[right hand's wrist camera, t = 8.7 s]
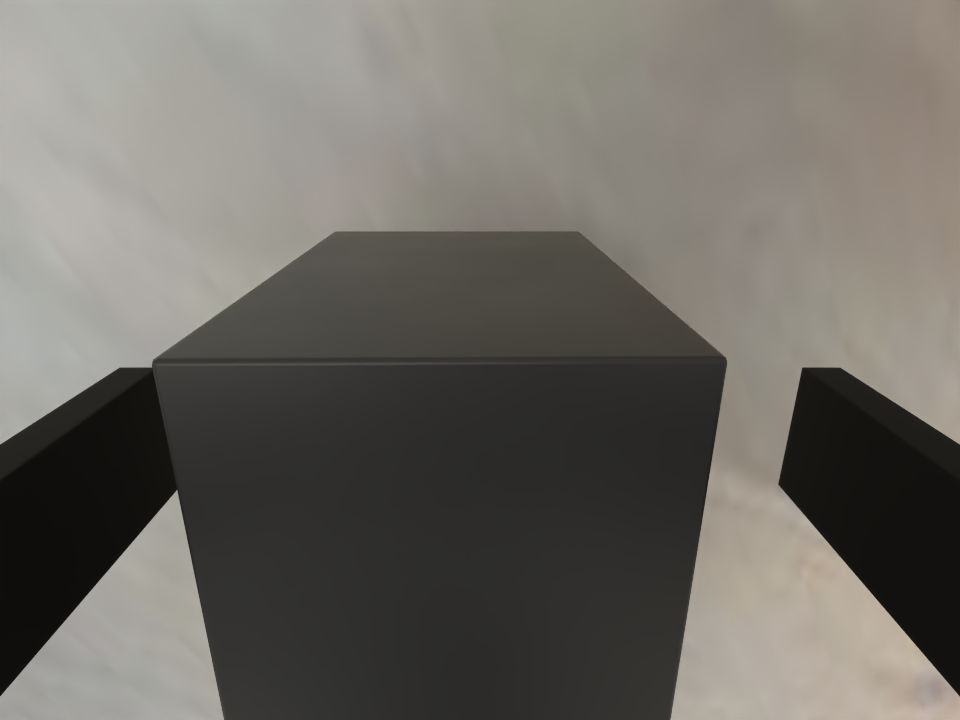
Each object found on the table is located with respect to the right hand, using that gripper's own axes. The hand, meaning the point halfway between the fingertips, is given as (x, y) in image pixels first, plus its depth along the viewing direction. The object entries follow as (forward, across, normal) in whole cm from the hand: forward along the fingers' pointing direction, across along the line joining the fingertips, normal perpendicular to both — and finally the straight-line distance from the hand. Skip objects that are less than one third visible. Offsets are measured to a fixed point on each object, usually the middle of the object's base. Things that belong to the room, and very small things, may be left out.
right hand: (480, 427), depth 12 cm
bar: (+2, 0, -10) cm, 10 cm away
